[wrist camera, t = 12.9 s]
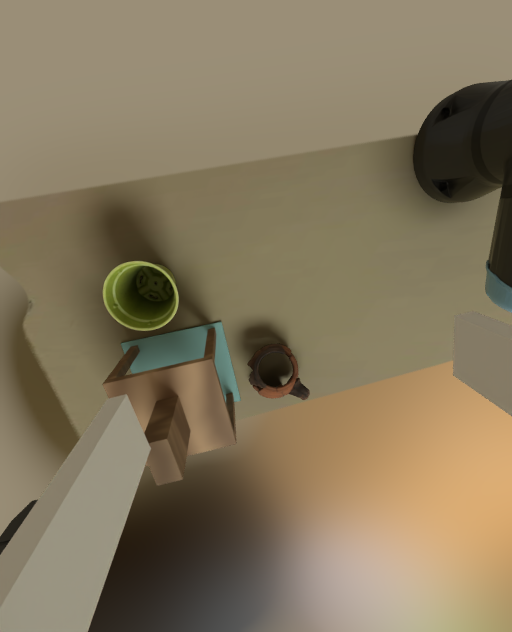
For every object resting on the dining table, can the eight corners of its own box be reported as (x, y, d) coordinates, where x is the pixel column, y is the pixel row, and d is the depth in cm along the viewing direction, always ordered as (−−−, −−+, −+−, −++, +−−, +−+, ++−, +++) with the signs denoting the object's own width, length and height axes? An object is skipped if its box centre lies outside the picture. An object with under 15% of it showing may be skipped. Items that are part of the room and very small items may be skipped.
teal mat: (221, 321, 48) (221, 322, 48) (240, 399, 53) (240, 400, 53) (121, 343, 47) (120, 343, 47) (150, 419, 52) (150, 420, 52)
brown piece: (214, 327, 48) (208, 394, 29) (233, 397, 53) (239, 493, 34) (130, 346, 47) (70, 427, 29) (157, 415, 52) (120, 522, 34)
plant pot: (181, 316, 47) (172, 336, 39) (122, 305, 45) (99, 324, 37) (191, 260, 44) (183, 270, 36) (128, 246, 43) (105, 253, 34)
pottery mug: (236, 382, 53) (238, 383, 45) (260, 337, 55) (265, 330, 47) (293, 412, 52) (305, 419, 44) (315, 367, 55) (329, 365, 47)
